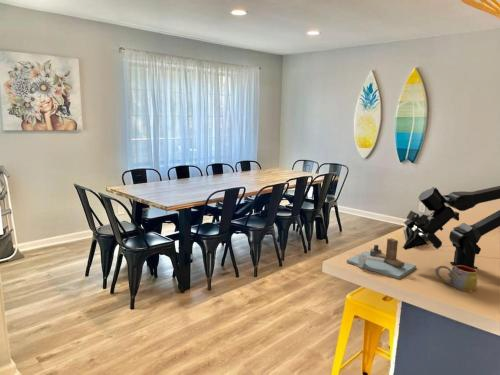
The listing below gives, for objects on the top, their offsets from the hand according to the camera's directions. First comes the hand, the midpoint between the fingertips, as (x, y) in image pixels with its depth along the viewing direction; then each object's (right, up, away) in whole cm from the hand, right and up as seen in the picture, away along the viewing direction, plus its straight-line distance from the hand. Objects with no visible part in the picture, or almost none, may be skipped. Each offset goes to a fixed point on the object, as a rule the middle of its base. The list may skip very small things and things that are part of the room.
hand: (404, 248), depth 135 cm
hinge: (+17, -2, +30) cm, 35 cm away
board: (-8, -6, +2) cm, 10 cm away
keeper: (-13, -7, -2) cm, 14 cm away
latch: (-6, -5, +3) cm, 8 cm away
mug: (+11, -10, -14) cm, 20 cm away
